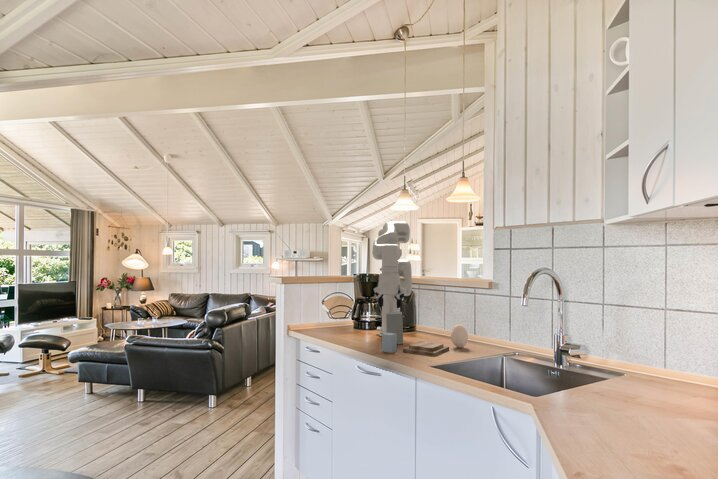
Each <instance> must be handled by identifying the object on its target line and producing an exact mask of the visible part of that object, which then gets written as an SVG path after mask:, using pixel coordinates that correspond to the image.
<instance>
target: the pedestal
mask: <svg viewBox="0 0 718 479" xmlns="http://www.w3.org/2000/svg"><path fill="white" fill-rule="evenodd" d="M448 351H450V346H445V345H444V343H438V342H432V341H431V342H430V341H422V340H420V341H417V342H413V343H411V344H409V345H408V346H406V347H404V348H402V353H408V354H416V355H421V354H422V356H428V357H437V356H439V355H441V354H444V353H447V352H448Z"/></svg>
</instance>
